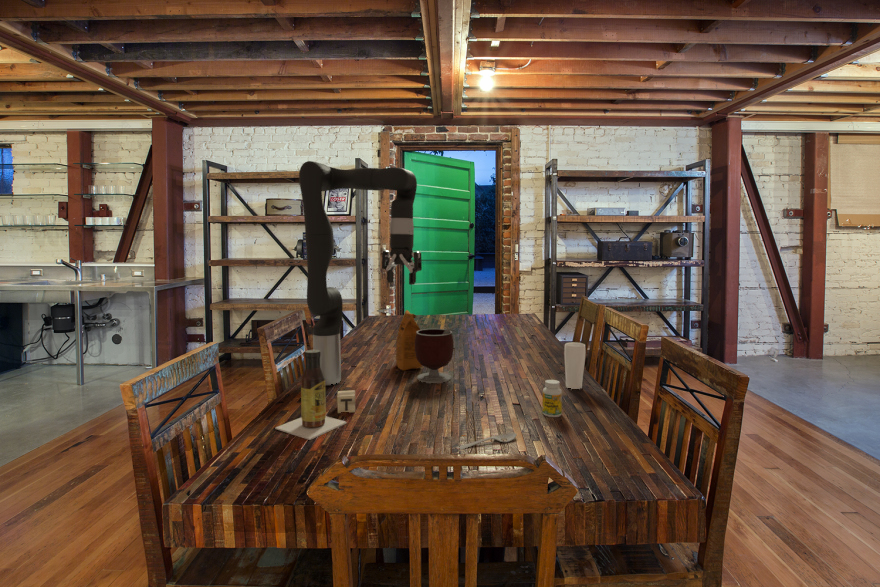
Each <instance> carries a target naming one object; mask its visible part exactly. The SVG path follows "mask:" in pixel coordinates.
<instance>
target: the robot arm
mask: <svg viewBox="0 0 880 587" xmlns="http://www.w3.org/2000/svg"><path fill="white" fill-rule="evenodd" d="M298 182H299V187H300V188H299V189H300V193H301V194H300V195H301V199H302V207H303V215H304V216H303V218H304V232H305V233H304V235H305V248H306V249H305V250H306V266H307V280H306V281H307V282H306V284H307V285H306V286H307V287H306V305H307V307H308V310H309V312H310V313H311V314H312V315H313V316H316V317H319V319H318V321H317V322H315V324H314V325H313V326H312V348H313V349H312V350H320V353H321V356H320V365H321V366H320V367H321V370H322V373H323V375H324V378H325V386H332V385H331V384H333V385H337V384H340V383H341V382H342V365H341V327H342V324H343V306H344V305H343V297H342V294H341V292H340V291H339V290H338V288H336V287H331V286H329V287H328V285H327V283H328V281H327V276H328V269H329V265H330V263H331V260H332V259H333V258H332V257H333V255H334V250H335V242H334V239H335V238H334V229H333V226H332V223H331V221H330V218H329V216H328V215H327V212H326V210H325V207H324V206H325V205H324V203H323V192H327V191H334V190H343V189H349V190H350V189H351V190H352V189H353V190H361V191H384V190H388V191H396V195H395V199H393V200H392V202H391V205H390V224H389V247H390V250H383V251H382V255H381V256H382V257H381V269H383V270H386V280H387V283H389V284H392V283H394V280H395V279H394V276H395V275H394V274H395V273H394V271H395V268H396V267H397V266H398V265H399V266H400V265H401V266H405V267H406V268H407V269H408V271H409V274H408V284H409V285H410V286H411V285H415V283H416V282H417V273H418V272H421V271H422V269H423V268H422V267H423V266H422V263H423V262H422V252H421V251H413V249H414V240H415V239H414V236H415V235H414V231H415V230H414V202H415V199H416V193H417V187H418V183H417V182H418V181H417V178H416V175H415V173H414V172H413V171H411V170H408V169H405V168H402V167H396V166H395V167H393V166H391V167H385V168H379V167H360V168H359V167H357V168H353V169H342V168H341V169H340V168H336V167H331V166H328V165H326V164H324V163H319V162H317V161H312V160H309V161H305V162H304V163H302V165H301V166H300V169H299V172H298ZM412 258H413V259H412ZM340 381H341V382H340ZM336 383H337V384H336Z"/></svg>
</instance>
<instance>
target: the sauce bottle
mask: <svg viewBox="0 0 880 587" xmlns="http://www.w3.org/2000/svg"><path fill="white" fill-rule="evenodd" d="M320 356H321V353H320V350H313V349H308V350H305V351H304V357H305V366H304V367H305V369H304V371H303V372H302V375H301V378H300V380H301V381H300V382H301V386H300V398H301V399H300V400H301V401H300V403H301V404H300V405H301V406H300V408H301V409H300V410H301V413H300V415H301V416H300V418H302V425H303V426H304V427H307V428H315V427H319V426H322V425H324V423H325V418H326V416H327V414H326V412H327V411H326V408H327V407H326V406H327V405H326V404H327V402H326V401H327V400H326V385H325V378H324V375H323V373H322V370H321V367H320V366H321V365H320Z"/></svg>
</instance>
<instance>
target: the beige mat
mask: <svg viewBox="0 0 880 587" xmlns="http://www.w3.org/2000/svg"><path fill="white" fill-rule="evenodd" d="M346 424H348V422H347V421H345V420H342V419H337V418H334V417H331V416H327V415H326V418H325V423H324V425H322V426H319V427H315V428H307V427H304V426H303V425H302V418H301V417H299V418H296V419H294V420H290V421H288V422H286V423H284V424H281V425H278V426H276V427H274V428H275V429H274V430H276V431H277V430H278V431H281V432H284V433H287V434H289V435H292V436H295V437H299V438H303V439H305V440H309V441H311V440H313V439H316V438H317V437H320V436H322V435H324V434H327V433H328V432H331V431H333V430H335V429H337V428H340V427H342V426H344V425H346Z"/></svg>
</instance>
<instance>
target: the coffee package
mask: <svg viewBox="0 0 880 587" xmlns="http://www.w3.org/2000/svg"><path fill="white" fill-rule="evenodd" d="M416 318H417V316H416V314H414V313H411V312H410V311H409V310H405V311H404V314H403V317H402V319H401V322H400V323H399V327H398V332H397V338H396V345H395V346H396V347H395V348H396V350H395V354H396V355H395V360H396V366H397V369H399V370H401V371H408V370H415V369H420V368H423V366H422V365H421V364H420V363H419V361H418V360H417V358H416V353H415V337H416V332H417V331H419V330H421V327H420V326H419V325H418V324H417V322H416V320H415V319H416Z"/></svg>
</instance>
